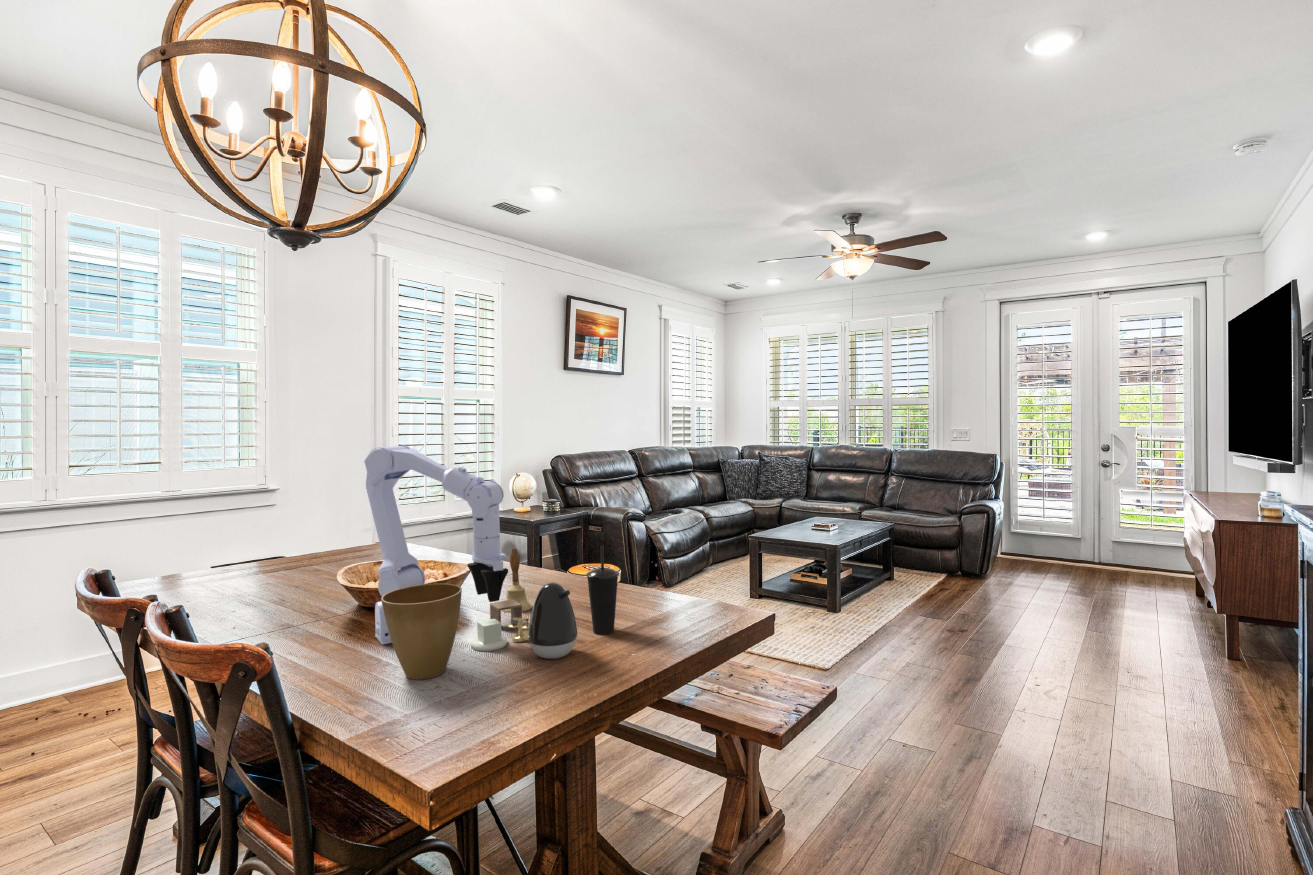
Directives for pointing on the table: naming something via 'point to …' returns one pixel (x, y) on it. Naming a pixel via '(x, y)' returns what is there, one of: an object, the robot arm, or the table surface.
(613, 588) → the drinking cup
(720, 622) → the table surface
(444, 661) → the plant pot
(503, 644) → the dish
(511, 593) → the hand bell
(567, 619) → the pump dispenser
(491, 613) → the cover
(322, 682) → the table surface
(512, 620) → the balance
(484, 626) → the block
